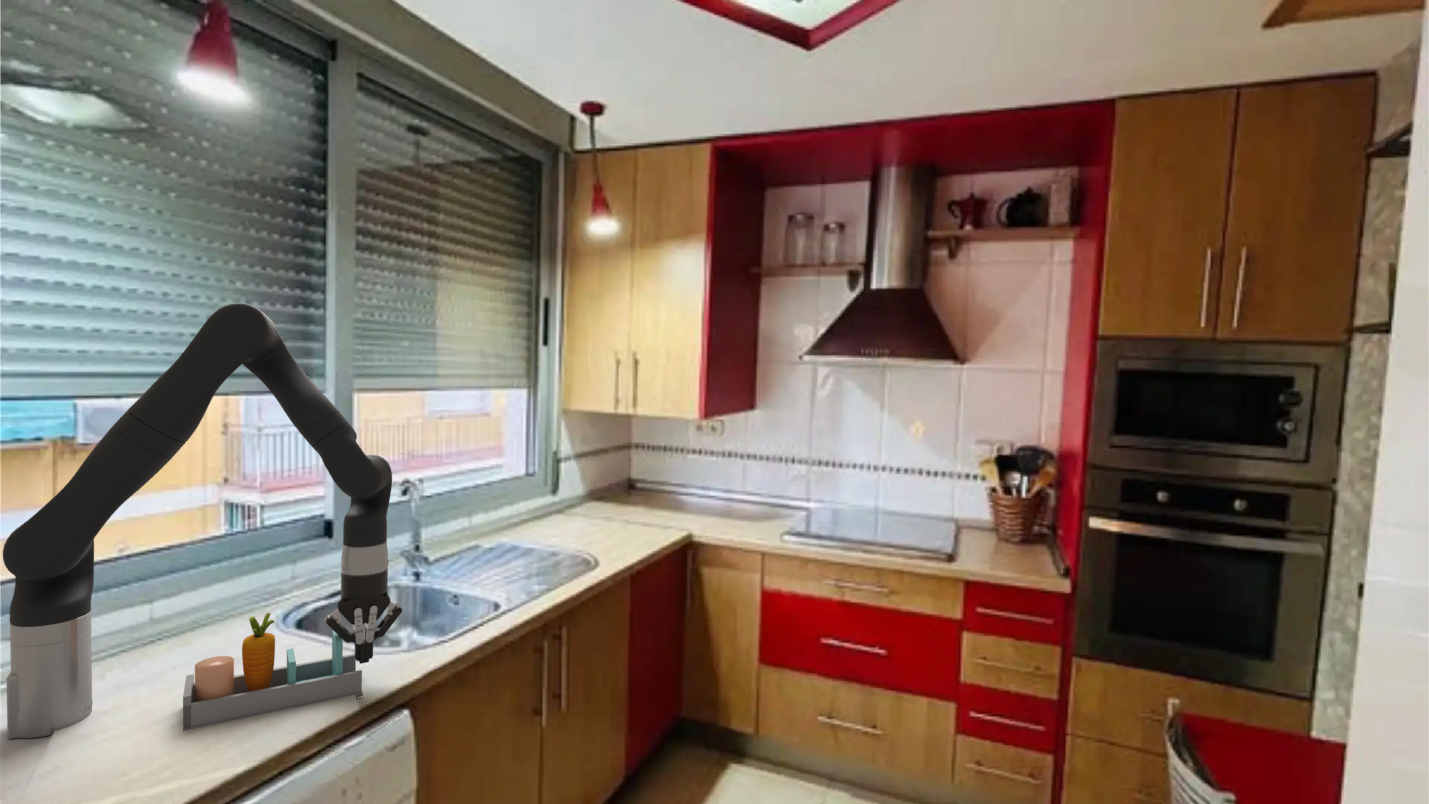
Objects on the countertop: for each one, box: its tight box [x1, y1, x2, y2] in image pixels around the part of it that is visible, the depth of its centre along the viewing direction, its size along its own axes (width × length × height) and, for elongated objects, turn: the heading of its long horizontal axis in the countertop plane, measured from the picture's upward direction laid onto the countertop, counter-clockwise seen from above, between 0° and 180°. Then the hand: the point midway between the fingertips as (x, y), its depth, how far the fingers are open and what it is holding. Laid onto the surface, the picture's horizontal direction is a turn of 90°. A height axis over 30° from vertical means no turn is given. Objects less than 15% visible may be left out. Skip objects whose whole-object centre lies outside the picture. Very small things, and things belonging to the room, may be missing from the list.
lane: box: [182, 653, 363, 732], centre depth 119 cm, size 25×10×6 cm, turn 124°
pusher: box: [286, 630, 344, 684], centre depth 122 cm, size 8×6×9 cm
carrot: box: [241, 612, 276, 691], centre depth 117 cm, size 5×5×15 cm
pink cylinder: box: [194, 655, 235, 702], centre depth 114 cm, size 5×5×8 cm
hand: (363, 661), depth 127 cm, fingers closed
